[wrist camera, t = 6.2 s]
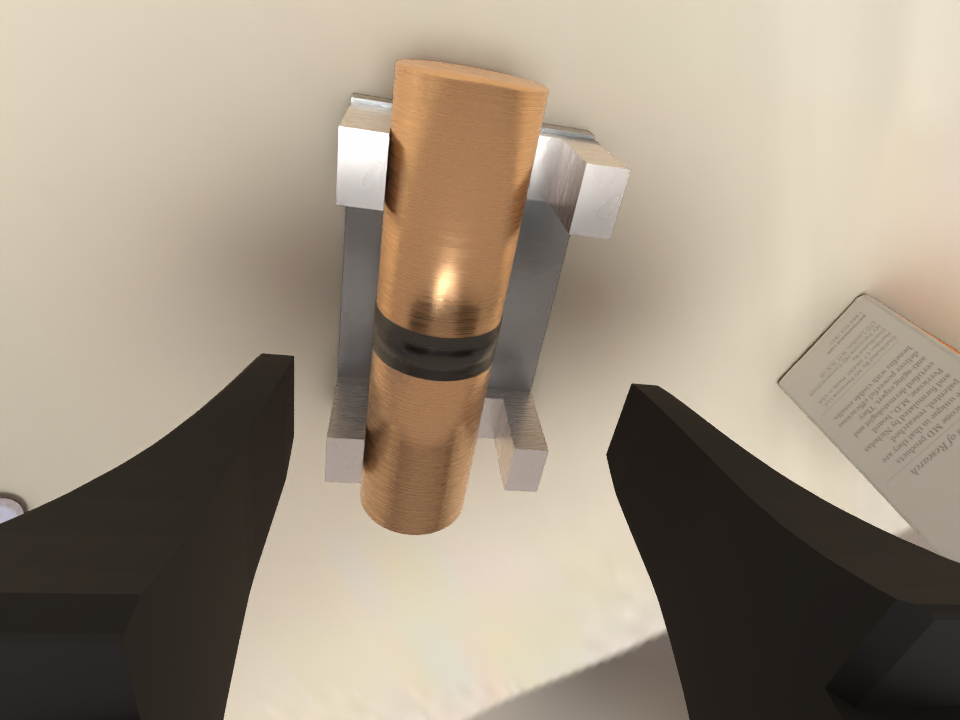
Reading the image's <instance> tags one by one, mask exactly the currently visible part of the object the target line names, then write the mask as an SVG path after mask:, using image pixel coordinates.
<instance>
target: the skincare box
mask: <svg viewBox="0 0 960 720" xmlns="http://www.w3.org/2000/svg"><path fill="white" fill-rule="evenodd" d="M779 387H780V388H781V389H782V390H783V391H784V392H785V393H786V394H787V395H788V396H789V397H790V398H791V399H792V400H793V402H794V403H795V404H796V405H797V406H798V407H799V408H800V409H801V410H802V411H803V412H804V413H805V414H806V415H807V416H808V418H809V419H810V420H811V421H812V422H813V423H814V424H815V425H816V426H817V427H818V428H819V429H820V430H821V431H822V432H823V433H824V434H825V435H826V436H827V437H828V438H829V440H830V441H831V442H832V443H833V444H834V445H835V446H836V447H837V448H838V449H839V450H840V451H841V452H842V453H843V454H844V456H845V457H846V458H847V459H848V460H849V461H850V462H851V463H852V464H853V465H854V466H855V467H856V468H857V469H858V470H859V471H860V472H861V473H862V475H863V476H864V477H865V478H866V479H867V480H868V481H869V482H870V483H871V484H872V485H873V486H874V487H875V489H876V490H877V491H878V492H879V493H880V494H881V495H882V496H883V497H884V498H885V499H886V500H887V501H888V502H889V503H890V504H891V506H892V507H893V508H894V509H895V510H896V511H897V512H898V513H899V514H900V515H901V516H902V517H903V519H904V520H905V521H906V522H907V523H908V524H909V525H910V526H911V527H912V528H913V529H914V530H915V531H916V532H917V533H918V534H919V536H920V537H922V539H923V540H924V541H925V542H926V543H927V544H928V545H929V546H930V547H931V548H932V549H933V550H934V552H935V553H936V554H938V555H941V556H943V557H945V558H948V559H951V560H953V561H956V562H959V563H960V352H958V351H957V350H955V349H953V348H952V347H950V346H949V345H947V344H945V343H944V342H942V341H941V340H939V339H937V338H936V337H934V336H932V335H931V334H929V333H927V332H926V331H924V330H923V329H921V328H919V327H918V326H916V325H914V324H913V323H911V322H910V321H908V320H907V319H905V318H903V317H902V316H900V315H899V314H897V313H895V312H894V311H892V310H891V309H889V308H887V307H886V306H884V305H883V304H881V303H880V302H878V301H876V300H875V299H873V298H872V297H870V296H868V295H862V296H860V297H858V298H856V300H855V301H854V302H853V303H852V304H851V305H850V306H849V307H848V308H847V310H846V311H845V312H844V313H843V314H842V315H841V316H840V317H839V318H838V319H837V320H836V322H835V323H834V324H833V325H832V326H831V327H830V328H829V329H828V330H827V331H826V332H825V333H824V334H823V335H822V337H821V338H820V339H819V340H818V341H817V342H816V343H815V344H814V345H813V346H812V347H811V348H810V349H809V350H808V351H807V352H806V353H805V354H804V356H803V357H802V358H801V359H800V360H799V361H798V362H797V363H796V364H795V365H794V366H793V367H792V368H791V369H790V370H789V371H788V372H787V373H786V375H785V376H784V377H783V378H782V379H781V380H780V382H779Z"/></svg>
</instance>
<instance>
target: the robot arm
mask: <svg viewBox="0 0 960 720" xmlns="http://www.w3.org/2000/svg"><path fill="white" fill-rule="evenodd" d="M293 438H294V356H287V355H275V354H263V353H262V354H261V355H260V356H258V357H257V358H256V359H255V360H254V361H253V362H252V363H251V364H250V365H249V366H247V367H246V368H245V369H244V370H243V371H242V372H241V373H240V374H239V375H238V376H237V377H236V378H235V379H234V380H233V381H232V382H231V383H229V384H228V385H227V386H226V387H225V388H224V389H223V390H222V391H221V392H219V393H218V394H217V395H216V396H215V397H214V398H213V399H211V400H210V401H209V402H208V403H207V404H206V405H204V406H203V407H202V408H201V409H200V410H199V411H197V412H196V413H195V414H194V415H192V416H191V417H190V418H188V419H187V420H186V421H184V422H183V423H182V424H181V425H179V426H178V427H177V428H175V429H174V430H173V431H171V432H170V433H169V434H168V435H166V436H165V437H163V438H162V439H160V440H159V441H158V442H156V443H155V444H153V445H152V446H150V447H149V448H147V449H146V450H144V451H143V452H141V453H139V454H138V455H136V456H135V457H133V458H131V459H130V460H128V461H126V462H125V463H123V464H121V465H120V466H118V467H116V468H114V469H113V470H111V471H109V472H107V473H105V474H103V475H101V476H99V477H98V478H96V479H94V480H92V481H90V482H88V483H86V484H84V485H83V486H81V487H79V488H77V489H75V490H73V491H71V492H69V493H67V494H65V495H63V496H61V497H59V498H57V499H55V500H53V501H51V502H48V503H46V504H44V505H42V506H40V507H38V508H35V509H33V510H31V511H29V512H26V513H24V512H23V509H22V508H21V506H20V505H19V504H18V503H17V502H15V501H13V500H10V499H5V498H0V720H223V719H224V713H225V708H226V703H227V698H228V693H229V688H230V683H231V678H232V673H233V668H234V664H235V659H236V654H237V649H238V644H239V639H240V635H241V630H242V625H243V621H244V616H245V611H246V607H247V602H248V598H249V594H250V590H251V586H252V583H253V579H254V576H255V572H256V569H257V566H258V563H259V560H260V557H261V554H262V551H263V548H264V545H265V542H266V539H267V536H268V533H269V530H270V527H271V523H272V520H273V517H274V514H275V511H276V508H277V505H278V502H279V499H280V496H281V493H282V489H283V486H284V483H285V480H286V475H287V470H288V465H289V460H290V455H291V449H292V444H293ZM606 455H607V460H608V464H609V469H610V473H611V477H612V481H613V485H614V489H615V492H616V496H617V498H618V501H619V503H620V506H621V508H622V511H623V513H624V516H625V518H626V521H627V523H628V526H629V528H630V531H631V533H632V536H633V538H634V540H635V543H636V545H637V548H638V550H639V552H640V555H641V557H642V560H643V562H644V565H645V567H646V569H647V572H648V574H649V577H650V579H651V582H652V584H653V587H654V590H655V593H656V595H657V598H658V601H659V604H660V608H661V611H662V614H663V618H664V621H665V625H666V628H667V632H668V635H669V638H670V642H671V645H672V649H673V653H674V657H675V661H676V665H677V669H678V673H679V676H680V680H681V684H682V688H683V692H684V696H685V701H686V705H687V710H688V714H689V719H690V720H960V563H959V562H956V561H953V560H951V559H948V558H945V557H943V556H941V555H938V554H936V553H933V552H931V551H929V550H926V549H924V548H922V547H919V546H917V545H915V544H912V543H910V542H908V541H905V540H903V539H901V538H899V537H896V536H894V535H892V534H890V533H888V532H886V531H883V530H881V529H879V528H877V527H875V526H873V525H871V524H869V523H867V522H865V521H863V520H861V519H859V518H857V517H855V516H853V515H851V514H849V513H847V512H845V511H843V510H841V509H840V508H838V507H836V506H834V505H832V504H830V503H828V502H827V501H825V500H823V499H821V498H820V497H818V496H816V495H815V494H813V493H811V492H809V491H808V490H806V489H804V488H803V487H801V486H799V485H798V484H796V483H794V482H793V481H791V480H789V479H788V478H786V477H785V476H783V475H781V474H780V473H778V472H777V471H775V470H774V469H772V468H771V467H769V466H768V465H766V464H765V463H764V462H762V461H761V460H759V459H758V458H756V457H755V456H753V455H752V454H750V453H749V452H748V451H746V450H745V449H743V448H742V447H741V446H739V445H738V444H737V443H735V442H734V441H732V440H731V439H730V438H728V437H727V436H726V435H724V434H723V433H722V432H720V431H719V430H718V429H716V428H715V427H714V426H712V425H711V424H710V423H709V422H707V421H706V420H705V419H703V418H702V417H701V416H699V415H698V414H697V413H695V412H694V411H693V410H692V409H690V408H689V407H688V406H686V405H685V404H684V403H682V402H681V401H679V400H678V399H677V398H675V397H674V396H673V395H671V394H670V393H668V392H667V391H665V390H664V389H662V388H660V387H659V386H656V385H643V384H631V387H630V390H629V392H628V395H627V398H626V401H625V404H624V406H623V409H622V412H621V415H620V418H619V420H618V423H617V426H616V429H615V432H614V434H613V437H612V440H611V443H610V446H609V448H608V451H607V454H606Z"/></svg>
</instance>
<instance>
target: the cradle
mask: <svg viewBox="0 0 960 720" xmlns="http://www.w3.org/2000/svg"><path fill="white" fill-rule="evenodd" d="M392 103H393V100H392V99H385V98H379V97H373V96H367V95H360V94H354V93H353V95H352V97H351V103H350V105H349V107H348V109H347V111H346V113H345V115H344V117H343V119H342V121H341V123H340V125H339V137H338V162H337V188H336V205H342V206H346V218H345V239H344V259H343V280H342V301H341V321H340V342H339V363H338V378H337V383H336V389H335V394H334V400H333V405H332V411H331V417H330V422H329V428H328V433H327V443H326V468H325V482H346V483H361V477H362V467H363V456H364V445H365V433H366V421H367V408H368V396H369V384H370V372H371V359H372V347H373V346H372V338H373V325H374V313H375V301H376V296H377V286H378V274H379V262H380V249H381V237H382V225H383V213H384V201H385V188H386V176H387V164H388V152H389V139H390V127H391V115H392ZM594 138H595V135H593V134H592V133H591V132H590V131H585V130H579V129H573V128H567V127H560V126H554V125H548V124H542V126H541V130H540V135H539V140H538V145H537V150H536V155H535V159H534V164H533V169H532V174H531V179H530V184H529V188H528V193H527V198H526V203H525V208H524V213H523V217H522V222H521V227H520V232H519V237H518V242H517V246H516V251H515V256H514V261H513V266H512V271H511V275H510V280H509V285H508V290H507V295H506V300H505V304H504V309H503V314H502V317H503V318H502V323H501V328H500V332H499V337H498V342H497V347H496V352H495V357H494V361H493V363H492V367H491V372H490V377H489V382H488V387H487V391H486V396H485V401H484V406H483V411H482V416H481V420H480V425H479V430H478V435H477V437H482V438H494V439H495V444H496V449H497V455H498V460H499V465H500V470H501V476H502V481H503V486H504V490H512V491H533V492H537V489H538V485H539V482H540V479H541V475H542V472H543V468H544V465H545V461H546V458H547V455H548V448H547V444H546V441H545V438H544V434H543V431H542V428H541V424H540V421H539V418H538V415H537V411H536V408H535V405H534V401H533V398H532V395H531V391H530V390H531V386H532V382H533V378H534V374H535V371H536V367H537V363H538V359H539V355H540V351H541V347H542V343H543V339H544V335H545V331H546V327H547V323H548V319H549V315H550V311H551V307H552V303H553V300H554V296H555V292H556V288H557V284H558V280H559V276H560V272H561V268H562V264H563V260H564V256H565V252H566V248H567V244H568V240H569V236H570V235H578V236H586V237H593V238H601V239H609V240H610V238H611V235H612V232H613V228H614V225H615V221H616V218H617V214H618V211H619V208H620V204H621V201H622V197H623V194H624V190H625V187H626V184H627V180H628V177H629V173H630V169H629V168H628V167H626V166H625V165H624V164H623V163H621V162H620V161H619V160H618V159H617V158H615V157H614V156H613V155H612V154H611V153H609V152H608V151H607V150H606V149H604V148H603V147H602V146H601V145H600V144H598V143H597V142H596V141H595V140H594Z"/></svg>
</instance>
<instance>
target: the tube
mask: <svg viewBox="0 0 960 720" xmlns="http://www.w3.org/2000/svg"><path fill="white" fill-rule="evenodd" d="M548 92H549V89H548V88H547V87H546V86H544V85H541V84H539V83H536V82H533V81H530V80H527V79H523V78H520V77H516V76H512V75H508V74H503V73H499V72H494V71H490V70H485V69H480V68H474V67H469V66H463V65H457V64H450V63H443V62H436V61H426V60H412V59H403V60H397V61H396V66H395V78H394V91H393V103H392V115H391V127H390V139H389V152H388V164H387V176H386V188H385V201H384V213H383V225H382V237H381V249H380V262H379V274H378V286H377V296H376V301H375V313H374V325H373V338H372V346H373V347H372V359H371V372H370V384H369V396H368V408H367V421H366V433H365V445H364V457H363V469H362V482H361V495H360V496H361V502H362V505H363V508H364V510H365V511H366V513H367V514H368V515H369V516H370V517H371V519H372V520H374V521H375V522H376V523H377V524H379V525H381V526H382V527H384V528H386V529H388V530H391V531H394V532H397V533H402V534H409V535H422V534H429V533H433V532H436V531H439V530H441V529H444V528H445V527H447V526H449V525H450V524H451V523H452V522H454V521H455V520H456V518H457V517H458V516H459V514H460V512H461V510H462V507H463V503H464V498H465V493H466V488H467V483H468V478H469V474H470V469H471V464H472V459H473V454H474V449H475V445H476V440H477V435H478V430H479V425H480V420H481V416H482V411H483V406H484V401H485V396H486V391H487V387H488V382H489V377H490V372H491V367H492V363H493V361H494V357H495V352H496V347H497V342H498V337H499V332H500V328H501V323H502V318H503V317H502V314H503V309H504V304H505V300H506V295H507V290H508V285H509V280H510V275H511V271H512V266H513V261H514V256H515V251H516V246H517V242H518V237H519V232H520V227H521V222H522V217H523V213H524V208H525V203H526V198H527V193H528V188H529V184H530V179H531V174H532V169H533V164H534V159H535V155H536V150H537V145H538V140H539V135H540V130H541V126H542V121H543V116H544V111H545V106H546V101H547V97H548Z"/></svg>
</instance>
